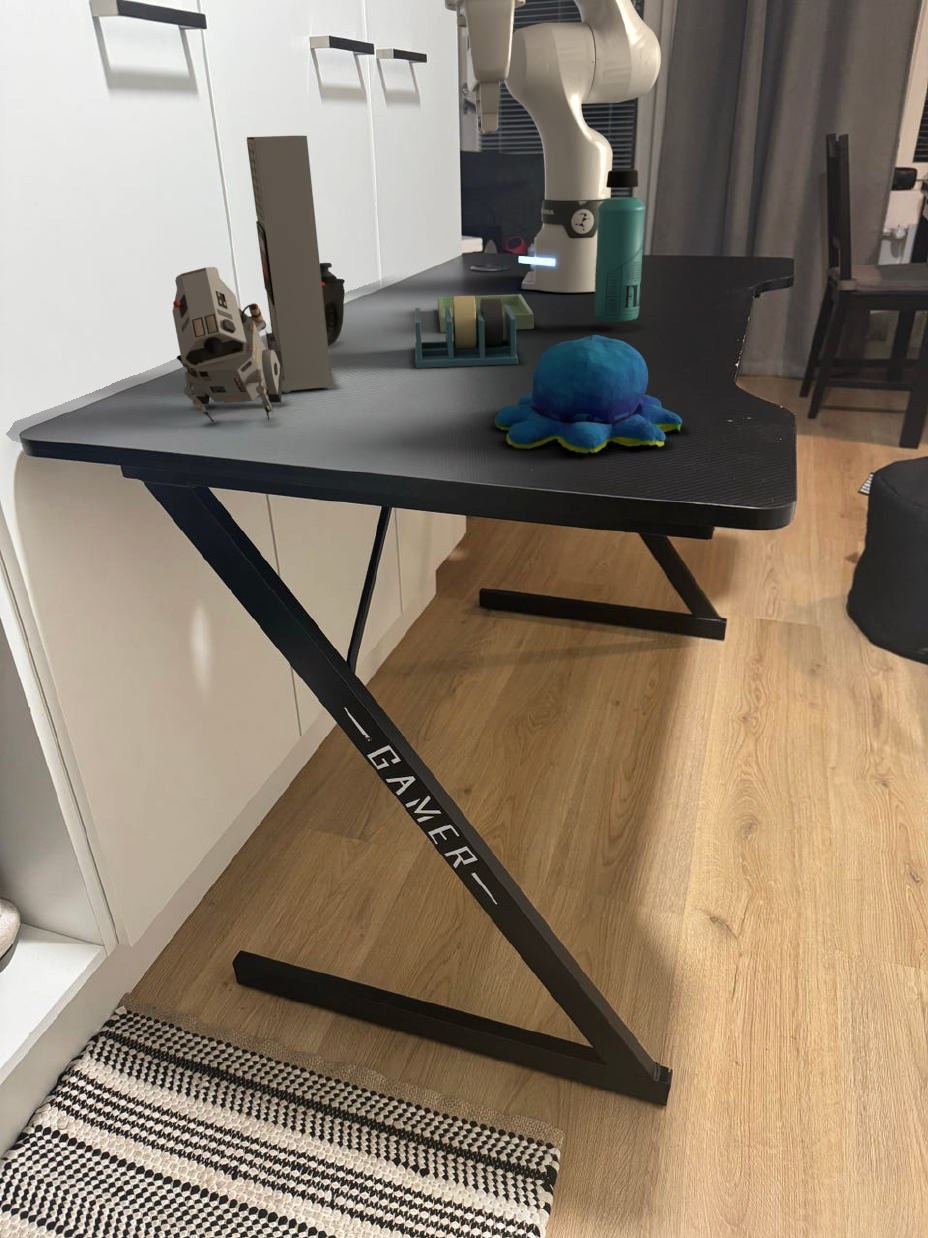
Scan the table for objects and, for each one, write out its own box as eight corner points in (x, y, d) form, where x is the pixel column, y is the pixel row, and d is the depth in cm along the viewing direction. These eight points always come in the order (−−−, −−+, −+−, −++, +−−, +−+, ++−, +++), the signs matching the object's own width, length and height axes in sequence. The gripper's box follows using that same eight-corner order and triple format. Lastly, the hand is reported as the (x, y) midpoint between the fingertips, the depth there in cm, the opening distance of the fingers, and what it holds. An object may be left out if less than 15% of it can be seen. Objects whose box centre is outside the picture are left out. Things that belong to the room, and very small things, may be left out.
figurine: (193, 451, 92) (143, 352, 78) (203, 363, 96) (158, 256, 83) (280, 449, 92) (246, 349, 78) (287, 361, 96) (255, 253, 83)
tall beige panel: (269, 366, 110) (238, 137, 97) (318, 362, 111) (294, 135, 99) (278, 394, 98) (244, 137, 86) (333, 389, 99) (308, 135, 87)
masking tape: (453, 342, 114) (452, 291, 111) (473, 342, 114) (472, 290, 111) (455, 356, 109) (454, 302, 105) (476, 355, 109) (475, 301, 105)
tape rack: (415, 348, 116) (413, 307, 114) (509, 344, 117) (509, 303, 114) (415, 368, 107) (413, 323, 104) (517, 364, 107) (518, 319, 105)
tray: (438, 310, 140) (437, 297, 139) (520, 307, 140) (520, 294, 140) (440, 332, 125) (440, 317, 124) (533, 328, 125) (533, 314, 125)
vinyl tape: (480, 344, 114) (479, 295, 111) (499, 344, 114) (498, 295, 111) (484, 353, 109) (483, 302, 106) (503, 352, 109) (503, 301, 106)
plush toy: (645, 467, 74) (653, 366, 70) (467, 442, 81) (464, 349, 77) (699, 414, 87) (708, 326, 83) (540, 396, 94) (542, 315, 90)
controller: (353, 337, 124) (347, 260, 119) (315, 357, 113) (306, 274, 108) (325, 336, 125) (318, 260, 120) (284, 355, 114) (274, 274, 110)
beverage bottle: (625, 334, 121) (634, 169, 111) (582, 329, 124) (588, 169, 114) (647, 325, 125) (658, 167, 115) (605, 321, 129) (613, 167, 119)
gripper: (453, 3, 105) (457, 135, 111) (457, -30, 87) (462, 131, 93) (506, 1, 105) (507, 133, 111) (522, -32, 87) (522, 129, 93)
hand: (487, 132), depth 102 cm, fingers open, 8 cm apart
